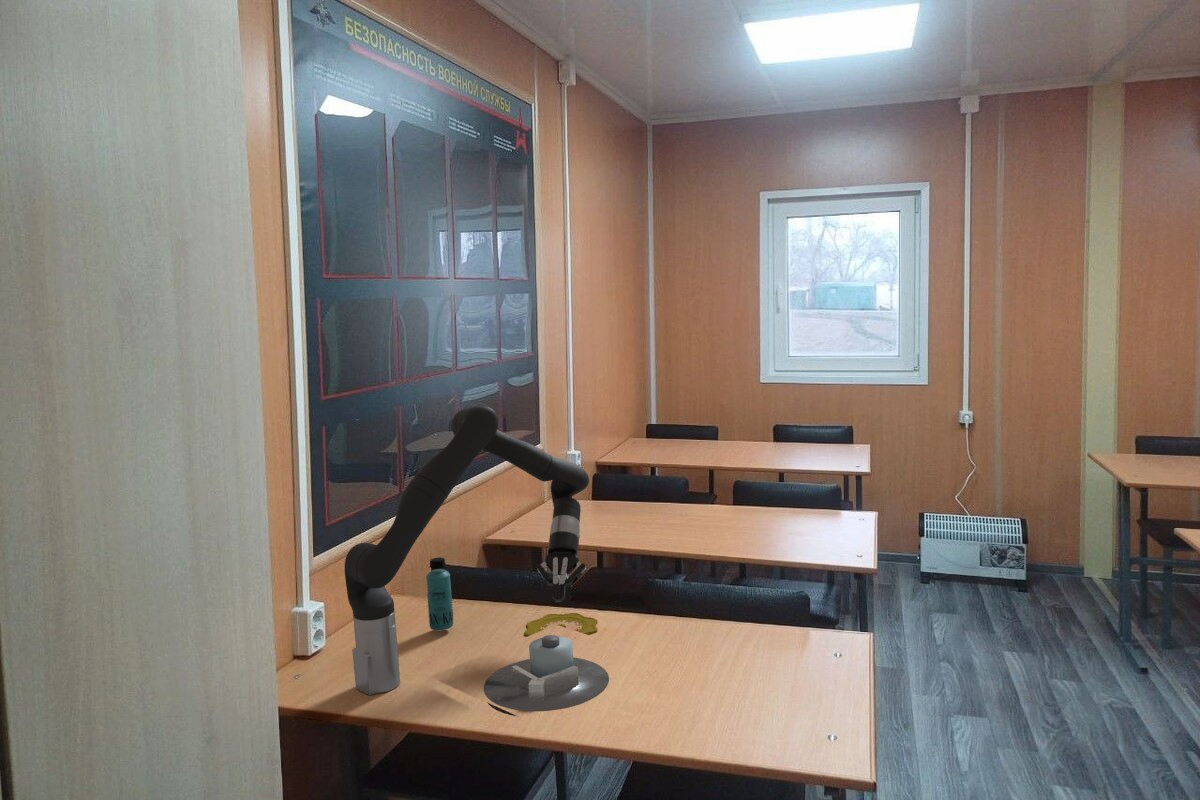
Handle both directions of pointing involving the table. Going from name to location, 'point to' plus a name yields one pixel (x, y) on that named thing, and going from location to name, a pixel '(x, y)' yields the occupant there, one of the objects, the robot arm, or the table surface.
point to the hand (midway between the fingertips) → (558, 600)
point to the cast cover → (550, 655)
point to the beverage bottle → (439, 596)
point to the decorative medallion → (584, 621)
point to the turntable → (545, 686)
